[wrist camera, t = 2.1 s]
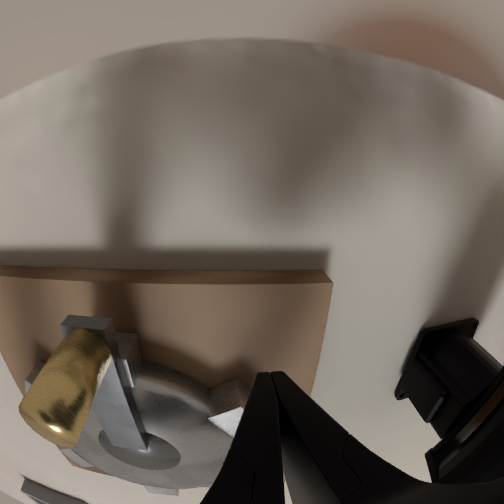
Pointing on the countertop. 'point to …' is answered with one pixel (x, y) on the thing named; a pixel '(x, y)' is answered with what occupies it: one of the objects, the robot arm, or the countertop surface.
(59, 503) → the grey frame
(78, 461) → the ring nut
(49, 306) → the walnut base
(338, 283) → the countertop surface
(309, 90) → the countertop surface
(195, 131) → the countertop surface
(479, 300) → the countertop surface
